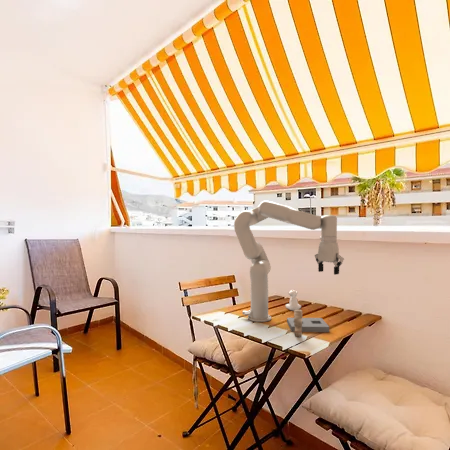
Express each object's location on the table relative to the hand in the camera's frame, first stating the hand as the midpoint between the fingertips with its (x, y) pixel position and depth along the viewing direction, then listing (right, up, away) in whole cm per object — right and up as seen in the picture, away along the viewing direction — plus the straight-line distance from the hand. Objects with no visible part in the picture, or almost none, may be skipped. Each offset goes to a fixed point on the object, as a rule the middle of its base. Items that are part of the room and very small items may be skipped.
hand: (328, 272), depth 164 cm
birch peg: (-19, -27, -16) cm, 37 cm away
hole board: (-12, -27, -3) cm, 29 cm away
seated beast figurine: (-11, -27, +29) cm, 41 cm away
